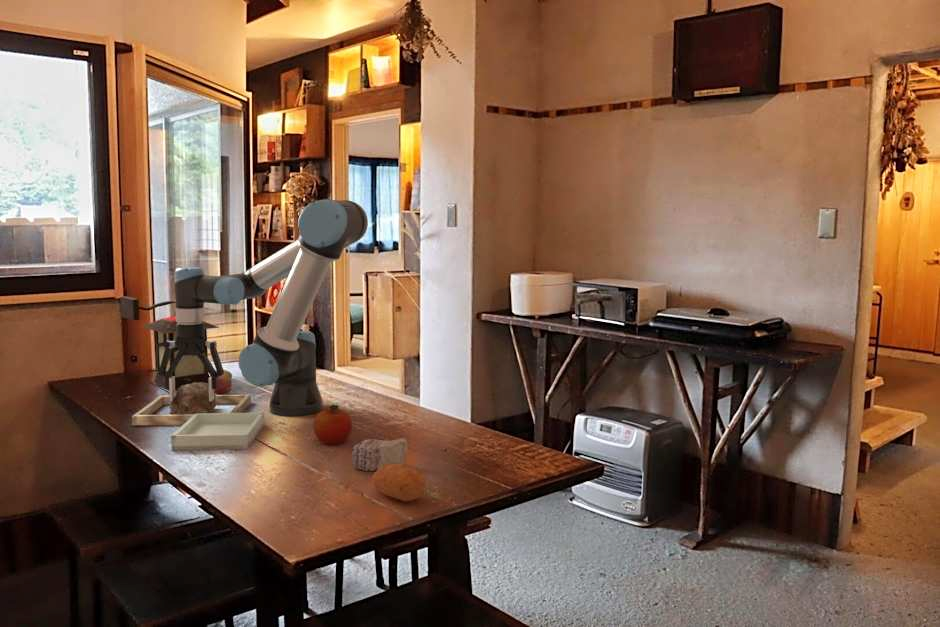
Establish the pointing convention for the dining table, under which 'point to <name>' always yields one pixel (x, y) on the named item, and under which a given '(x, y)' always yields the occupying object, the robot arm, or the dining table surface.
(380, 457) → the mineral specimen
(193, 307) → the robot arm
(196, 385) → the rock
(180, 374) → the lantern
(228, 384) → the fruit
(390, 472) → the potato
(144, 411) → the pine frame
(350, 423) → the fruit
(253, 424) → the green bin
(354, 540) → the dining table surface
